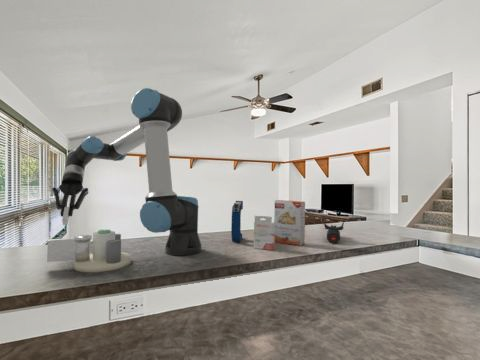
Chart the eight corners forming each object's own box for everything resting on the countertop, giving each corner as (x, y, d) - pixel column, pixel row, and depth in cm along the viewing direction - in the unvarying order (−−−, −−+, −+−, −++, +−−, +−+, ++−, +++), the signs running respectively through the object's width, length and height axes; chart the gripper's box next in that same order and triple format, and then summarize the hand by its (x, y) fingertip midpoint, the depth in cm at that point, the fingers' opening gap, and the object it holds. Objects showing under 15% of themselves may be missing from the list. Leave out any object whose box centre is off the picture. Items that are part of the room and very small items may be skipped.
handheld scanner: (243, 237, 146) (243, 200, 147) (240, 244, 130) (240, 203, 131) (234, 237, 147) (234, 200, 147) (231, 243, 131) (230, 203, 131)
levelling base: (130, 255, 108) (130, 224, 108) (132, 268, 92) (132, 231, 92) (77, 259, 101) (78, 226, 101) (69, 275, 84) (70, 235, 84)
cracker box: (273, 242, 136) (274, 200, 136) (278, 240, 141) (279, 199, 141) (300, 246, 128) (300, 201, 128) (304, 244, 133) (305, 201, 133)
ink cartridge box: (274, 247, 124) (275, 215, 124) (271, 250, 119) (272, 216, 120) (256, 246, 127) (257, 214, 127) (253, 248, 123) (253, 215, 123)
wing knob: (91, 257, 97) (92, 234, 97) (90, 261, 92) (91, 237, 92) (49, 260, 92) (50, 237, 92) (45, 265, 87) (46, 240, 87)
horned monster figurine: (342, 237, 153) (342, 219, 153) (343, 245, 131) (344, 225, 132) (324, 235, 156) (324, 218, 156) (322, 243, 135) (323, 223, 135)
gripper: (90, 184, 122) (85, 227, 107) (56, 183, 117) (45, 229, 102) (89, 172, 117) (84, 215, 102) (53, 171, 112) (42, 216, 97)
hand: (64, 222), depth 102 cm, fingers closed
